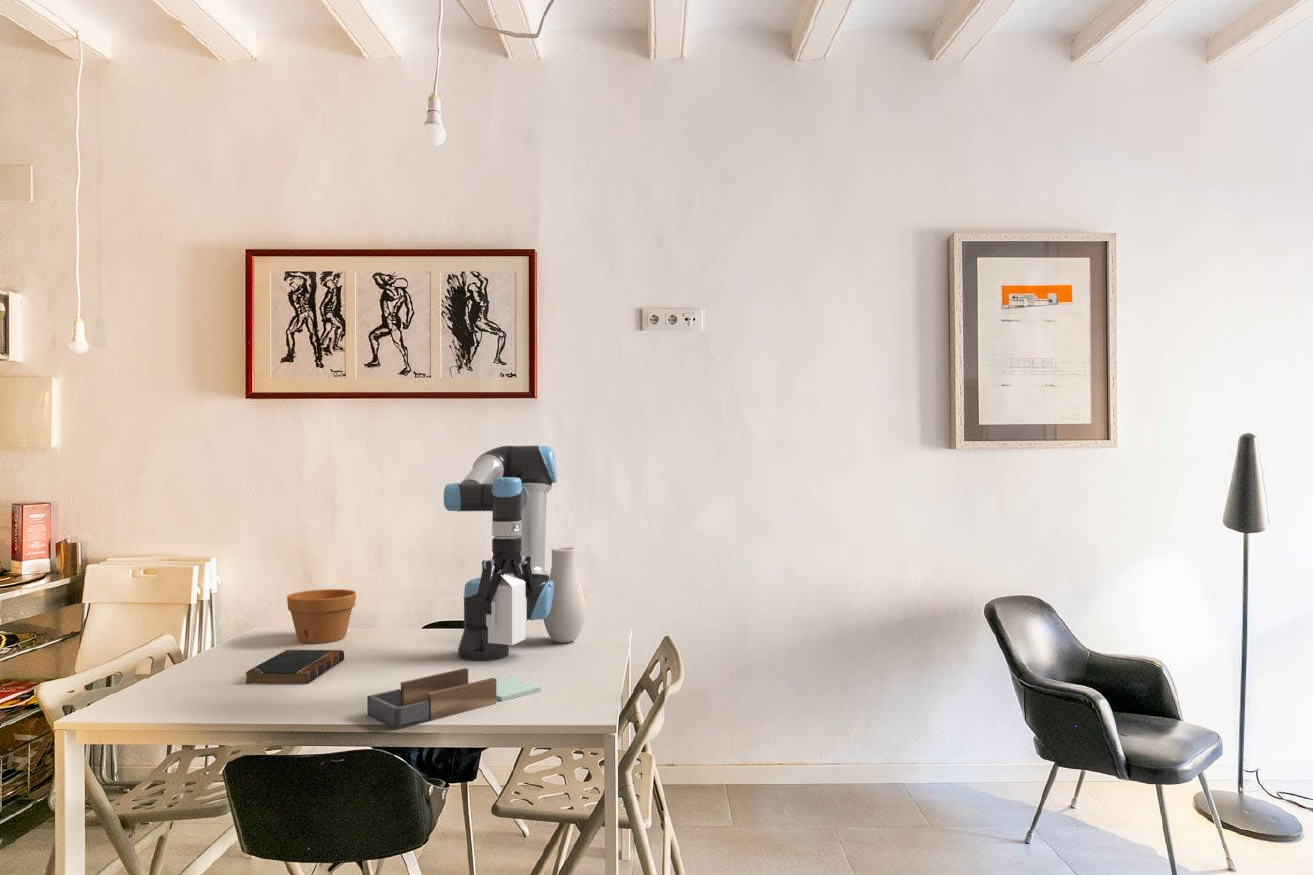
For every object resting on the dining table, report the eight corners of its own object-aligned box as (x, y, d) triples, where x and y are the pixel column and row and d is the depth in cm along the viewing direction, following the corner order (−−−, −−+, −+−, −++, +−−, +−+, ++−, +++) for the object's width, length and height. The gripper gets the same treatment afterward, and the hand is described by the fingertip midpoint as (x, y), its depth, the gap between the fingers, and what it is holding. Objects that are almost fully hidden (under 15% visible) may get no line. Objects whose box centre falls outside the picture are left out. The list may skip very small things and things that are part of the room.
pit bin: (367, 715, 196) (367, 696, 196) (398, 707, 201) (398, 689, 201) (396, 729, 186) (396, 709, 186) (428, 721, 192) (429, 701, 192)
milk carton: (525, 639, 218) (525, 566, 218) (512, 645, 211) (512, 570, 211) (501, 637, 220) (501, 565, 220) (487, 643, 213) (487, 569, 214)
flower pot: (309, 630, 286) (310, 587, 286) (367, 632, 283) (367, 588, 283) (273, 645, 265) (273, 598, 265) (335, 647, 262) (335, 600, 262)
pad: (472, 690, 216) (472, 686, 216) (511, 681, 224) (511, 677, 224) (501, 701, 207) (501, 697, 207) (540, 691, 215) (540, 687, 215)
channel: (400, 707, 202) (400, 682, 202) (465, 691, 215) (465, 668, 215) (430, 720, 192) (430, 694, 192) (496, 703, 205) (496, 678, 205)
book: (286, 661, 247) (243, 685, 222) (286, 649, 247) (243, 672, 222) (344, 661, 247) (308, 686, 222) (344, 649, 247) (308, 672, 222)
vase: (551, 648, 261) (551, 552, 261) (536, 639, 273) (536, 547, 273) (591, 643, 267) (591, 549, 267) (575, 634, 279) (575, 545, 279)
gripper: (478, 541, 205) (478, 632, 205) (549, 534, 221) (549, 619, 221) (462, 539, 211) (462, 628, 210) (532, 532, 226) (532, 615, 226)
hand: (506, 623), depth 216 cm, fingers closed on milk carton, 9 cm apart
